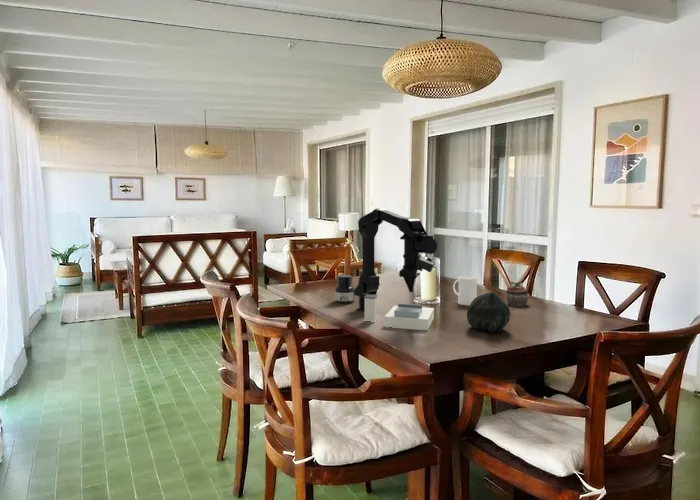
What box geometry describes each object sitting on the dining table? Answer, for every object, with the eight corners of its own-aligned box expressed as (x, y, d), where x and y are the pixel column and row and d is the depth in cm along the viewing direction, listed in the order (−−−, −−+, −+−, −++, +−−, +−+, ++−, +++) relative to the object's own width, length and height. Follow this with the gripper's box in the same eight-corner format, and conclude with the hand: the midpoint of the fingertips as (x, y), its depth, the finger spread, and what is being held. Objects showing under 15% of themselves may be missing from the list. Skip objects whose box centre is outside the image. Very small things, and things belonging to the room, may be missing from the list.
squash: (471, 307, 192) (469, 283, 182) (511, 312, 187) (512, 287, 176) (465, 338, 184) (463, 314, 173) (507, 344, 178) (508, 320, 168)
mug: (448, 302, 228) (448, 276, 227) (459, 299, 233) (460, 274, 232) (469, 306, 219) (469, 279, 218) (480, 303, 224) (481, 277, 223)
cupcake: (510, 306, 219) (511, 284, 218) (503, 302, 228) (503, 280, 227) (532, 306, 219) (532, 284, 218) (523, 301, 229) (524, 280, 228)
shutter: (398, 311, 192) (398, 303, 192) (421, 312, 190) (422, 304, 189) (394, 316, 184) (394, 308, 184) (418, 317, 181) (418, 309, 181)
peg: (366, 319, 196) (366, 294, 195) (377, 320, 195) (377, 294, 194) (364, 321, 192) (364, 296, 191) (374, 322, 191) (374, 297, 190)
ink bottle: (332, 303, 225) (332, 277, 224) (336, 299, 234) (336, 274, 232) (353, 304, 223) (353, 277, 222) (356, 300, 232) (356, 274, 231)
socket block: (394, 315, 202) (394, 305, 202) (433, 318, 198) (434, 308, 197) (384, 327, 184) (384, 316, 184) (427, 330, 180) (427, 319, 179)
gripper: (429, 255, 178) (429, 298, 180) (435, 249, 196) (435, 288, 198) (399, 254, 181) (398, 296, 183) (407, 249, 199) (407, 287, 201)
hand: (411, 292), depth 191 cm, fingers closed
